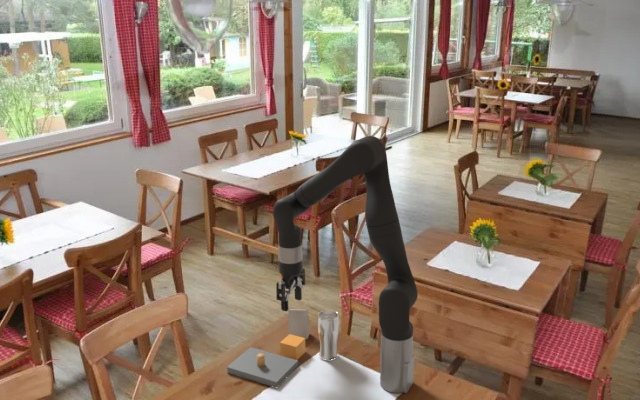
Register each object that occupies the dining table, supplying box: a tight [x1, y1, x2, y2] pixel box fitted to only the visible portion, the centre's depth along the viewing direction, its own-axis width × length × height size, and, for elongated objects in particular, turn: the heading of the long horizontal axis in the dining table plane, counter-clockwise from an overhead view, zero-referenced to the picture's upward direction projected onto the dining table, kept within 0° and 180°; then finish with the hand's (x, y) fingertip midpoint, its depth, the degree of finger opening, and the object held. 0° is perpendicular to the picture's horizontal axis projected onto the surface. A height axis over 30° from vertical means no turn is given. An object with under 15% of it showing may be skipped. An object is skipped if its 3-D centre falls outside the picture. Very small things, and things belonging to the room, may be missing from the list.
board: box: [226, 347, 299, 388], centre depth 185 cm, size 18×13×6 cm
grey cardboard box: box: [287, 308, 310, 340], centre depth 204 cm, size 4×7×10 cm, turn 83°
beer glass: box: [316, 309, 340, 360], centre depth 190 cm, size 7×7×15 cm
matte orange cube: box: [279, 334, 306, 361], centre depth 193 cm, size 6×6×5 cm
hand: (291, 304), depth 189 cm, fingers open, 8 cm apart
